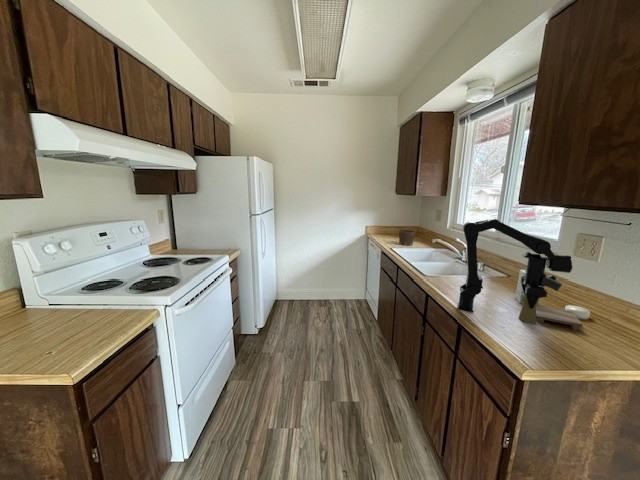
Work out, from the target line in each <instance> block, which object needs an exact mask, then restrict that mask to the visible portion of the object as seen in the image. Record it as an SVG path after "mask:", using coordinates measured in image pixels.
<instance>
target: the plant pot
mask: <svg viewBox="0 0 640 480" xmlns="http://www.w3.org/2000/svg"><path fill="white" fill-rule="evenodd" d="M416 232H417V231H415V230H412V229H411V230H410V229H398V238H399V241H398V242H399V245H400V246H405V247H412V246H413V243H414V239H415V235H416Z"/></svg>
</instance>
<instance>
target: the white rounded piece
mask: <svg viewBox="0 0 640 480" xmlns="http://www.w3.org/2000/svg"><path fill="white" fill-rule="evenodd" d="M564 307H565V308H564V310H568V311H572V312H573V313H574V314H575V315H576V317H577V318H578V319H579V320H589V319H590V315H591V311H590V310H589V309H586V308H584V307H580V306H578V305H577V306H576V305H569V304H568V305H565V306H564Z"/></svg>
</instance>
